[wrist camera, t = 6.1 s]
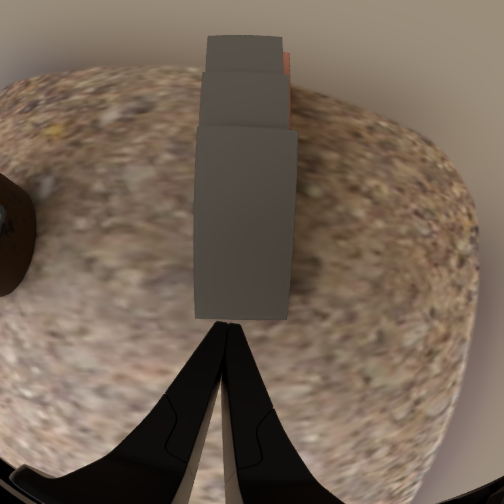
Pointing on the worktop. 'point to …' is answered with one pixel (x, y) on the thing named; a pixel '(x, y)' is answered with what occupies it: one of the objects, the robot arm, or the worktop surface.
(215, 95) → the domino
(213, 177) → the domino
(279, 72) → the domino
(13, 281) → the olive oil
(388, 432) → the worktop surface
